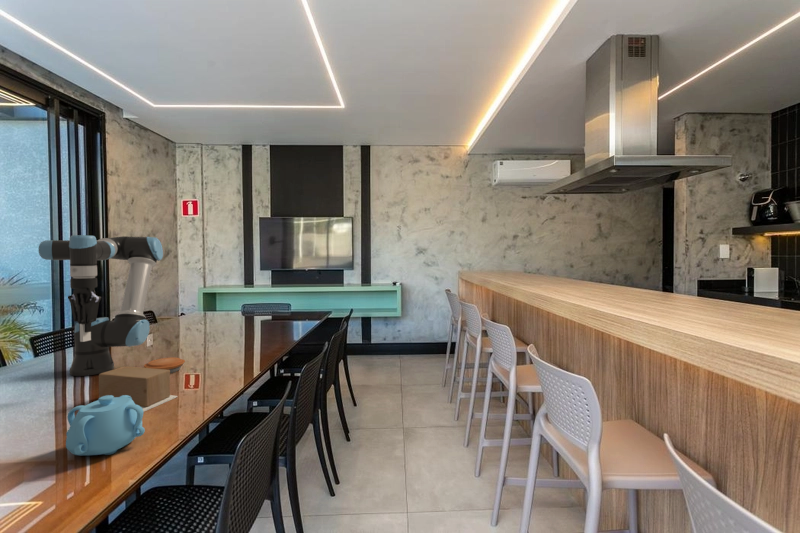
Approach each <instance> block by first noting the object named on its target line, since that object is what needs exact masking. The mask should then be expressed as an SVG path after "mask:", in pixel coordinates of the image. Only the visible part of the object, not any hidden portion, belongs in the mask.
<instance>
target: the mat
mask: <svg viewBox="0 0 800 533" xmlns="http://www.w3.org/2000/svg"><path fill="white" fill-rule="evenodd" d="M175 398H178V395H172V394H170V397H168V398H166V399H163V400H161V401H159V402H157V403H155V404H152V405H150V406H148V407H142V406H140V407H142V409H143V413H144V412H147V411H149V410H151V409H153V408H156V407H158V406H160V405H162V404H165V403H168V402H169V401H171V400H174V399H175Z"/></svg>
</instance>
